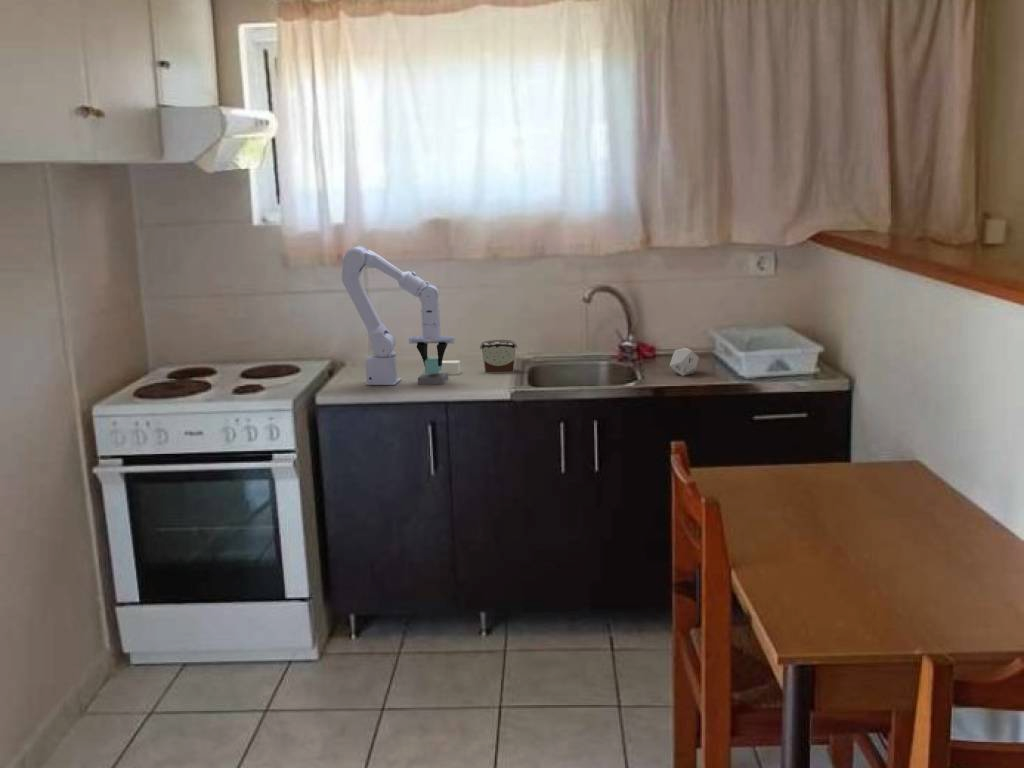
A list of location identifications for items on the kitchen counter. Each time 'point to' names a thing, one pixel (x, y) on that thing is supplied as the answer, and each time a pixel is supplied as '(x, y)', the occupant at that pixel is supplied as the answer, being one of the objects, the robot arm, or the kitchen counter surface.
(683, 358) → the die
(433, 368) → the teal brick
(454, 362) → the cream brick
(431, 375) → the charcoal slab
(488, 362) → the food container
